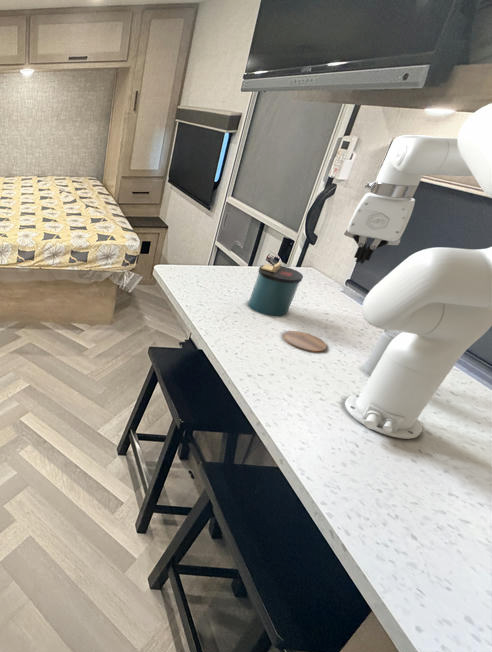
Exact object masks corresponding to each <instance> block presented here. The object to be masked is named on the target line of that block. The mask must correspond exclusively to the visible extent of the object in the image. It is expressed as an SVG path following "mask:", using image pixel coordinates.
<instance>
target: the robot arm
mask: <svg viewBox="0 0 492 652" xmlns="http://www.w3.org/2000/svg"><path fill="white" fill-rule="evenodd" d="M426 175H428V176H429V175H431V176H449V177H474V179H475V180H476V181H475V182H477V184H478V185H479V188H481V190H482V191H483V192H484V194H485V195H487V196H488V197H489V198H491V199H492V102H490V103H487V104H486V105H484V106H482V107H480V108H479V109H477V110H476V111H474V112H473V113H472V114H471V115H469V116H468V118H467V119H466V120H465V121H464V123H463V124H462V125H461V128H460V129H459V131H458V134H457V137H446V136H445V137H435V136H431V135H419V134H418V135H417V134H404V135H399V136H397V137H395V138H394V140H393V141H392V142H391V145H390V147H389V149H388V151H387V154H386V156H385V158H384V160H383V162H382V165H381V167H380V170H379V172H378V174H377V177H376V179H375V180H374V181H372V182H366V184H365V186H364V189H368V190H369V191H370V192H367V193H365V195H363V197H362V198H361V200H360V202H359V203H358V205H357V207H356V209H355V210H354V212H353V215H352V217H351V219H350V220H349V223H348V225H347V229H346V230H345V231H344V233H343V235H344V236H345V237H348V238H351V239H353V240H354V241H355V243H356V244H357V249H356V251H355V253H354V256H353V258H354V259H355V263H360V264H361V265H362V264H364V263H365V262H366V261H370V259H371V257H372V256H373V253H374V251H375V250H376V249H379V248H381V247H383V246H399V245H400V243H401V238H402V235H403V234H404V232H405V230H406V228H407V225H408V223H409V221H410V219H411V216H412V213H413V211H414V207H415V203H416V199H415V198H413V197H414V195H415V193H416V191H417V188H418V186H419V184H420V182H421V180H422V178H423V176H426ZM368 238H371V239H374V240H373V241H372V243H371V244H369V245H368V243H367V241H368ZM367 245H368V246H367ZM361 314H362V317H363V319H364V320H365V321H366V323H367V324H369V325H370V326H372V327H374V328H376V329H380V330H383V331H384V330H390V331H397V332H402V333H400V334H399V335H398V336H396V337H395V338H394V339H393V340H392V341H391V342H390V343H389V345H388V346H387V348H386V350H385V351H384V353H383V355H382V357H381V358H380V360H379V362H378V364H377V365H376V367H375V369H374V371H373V372H372V374H371V375H369V378H368V379H367V382H366V383H365V384H364V387H363V388H362V389H361V392H360V393H358V394H357V393H356V394H352V395H349V396H348V397H347V398H346V400H345V401H344V407H345V409H346V411H347V412H348V413H349V415H351V416H352V418H354V419H355V420H356V421H358V422H359V423H361V424H362V425H363V426H365V428H367V429H369V430H372V431H375V432H378V433H380V434H383V435H385V436H388V437H393V438H396V439H405V440H406V439H408V440H410V439H415V438H418V437H419V436H420V435H421V433H422V431H423V425H422V423H421V422H420V420H419V419H418V418H419V417H420V415H421V414H422V412H423V411H424V410H425V408H426V407H427V405H428V404H429V402H430V401H431V399H432V398H433V396H434V395H435V393H436V392H437V391H438V389H439V388H440V386H441V385H442V384H443V382H444V381H445V379H446V377H447V376H448V375H449V374H450V372H451V371H452V369H453V368H454V366H455V365H456V364H457V362H458V361H459V360H460V358H461V357H462V356H463V355H464V354H465V352H466V351H467V350H468V349H469V348H470V347H472V346H473V344H475V343H476V342H477V341H478V340H479V339H481V338H482V337H483V336H484V335H485V334H486V333H487V332H488V331H489V330H490V328H491V327H492V246H490V247H487V248H480V249H478V248H477V249H475V248H474V249H472V248H471V249H470V248H460V247H459V248H458V247H446V246H445V247H441V246H439V247H438V246H437V247H429V248H425V249H424V248H423V249H422V250H419V251H417V252H414V253H413V254H411V255H409V256H408V257H407V258H406V259H404V260H403V261H401V263H399V264H398V265H397V266H395V268H394V269H392V270H391V271H389V273H388V274H387V275H385V276H384V277H383V278H381V280H379V281H378V282H377V284H375V285H374V286H373V287H372V288H371V289H370V290H369V291H368V293H367V294H366V295H365V297H364V299H363V302H362V306H361Z"/></svg>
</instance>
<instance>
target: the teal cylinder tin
mask: <svg viewBox="0 0 492 652" xmlns="http://www.w3.org/2000/svg"><path fill="white" fill-rule="evenodd" d="M264 265H265V264H264ZM264 265H261V266H259V268H258V271H257V272H258V274H257V277H256V279H255V283H254V286H253V289H252V291H251V294H250V297H249V300H248V303H247V305H248V307H249V308H250V309H251V310H252V311H254V312H256V313H258V314H260V315H263V316H269V317H274V318H275V317H276V318H277V317H278V318H279V317H285V316H286V315H287V314H288V312H289V310H290V308H291V304H292V302H293V299H294V297H295V295H296V292H297V290H298V288H299V285H300V283H301V282H303V281H302V280H303V278H304V275H303V274H302V273H301V272H299V271H298V270H296V269H293V268H290V267H287V266H283V265H281V266H280V269H279V270H278V271H276V272H275V273H274V272H270V271H267V270H263V269H261V267H263V266H264ZM271 265H272V266H274V265H275V264H271Z"/></svg>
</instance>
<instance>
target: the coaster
mask: <svg viewBox="0 0 492 652" xmlns="http://www.w3.org/2000/svg"><path fill="white" fill-rule="evenodd" d="M283 339H284V341H285V342H287V343H288V344H289V345H291V346H292V347H295V348H297V349H299V350H302V351H305V352H311V353H321V352H325V351H326V349H327V344H326V343H325V342H324V341H323V340H322V339H320V338H319V337H317V336H315V335H312V334H310V333H307V332H304V331H295V330H290V331H286V332H285V333H284V334H283Z"/></svg>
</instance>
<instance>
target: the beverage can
mask: <svg viewBox="0 0 492 652" xmlns="http://www.w3.org/2000/svg"><path fill="white" fill-rule="evenodd" d="M400 333H402V332H397V331H390V330H384V329H383V331H382V332H381V334H380V335H379V338H378V339H377V341H376V343H375V345H374V346H373V348H372V350H371V352H370V353H369V356H368V358H367V359H366V361H365V363H364V365H363V367H362V369H363V371H364V372H365V373H366V374H367V375H369V376H371V374H372V372H373V371H374V369H375V367H376V365H377V364H378V362H379V360H380V358H381V357H382V355H383V353H384V351H385V350H386V348H387V346H388V345H389V343H390V342H391V341H392V340H393V339H394V338H395V337H396V336H398V335H399V334H400Z"/></svg>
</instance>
